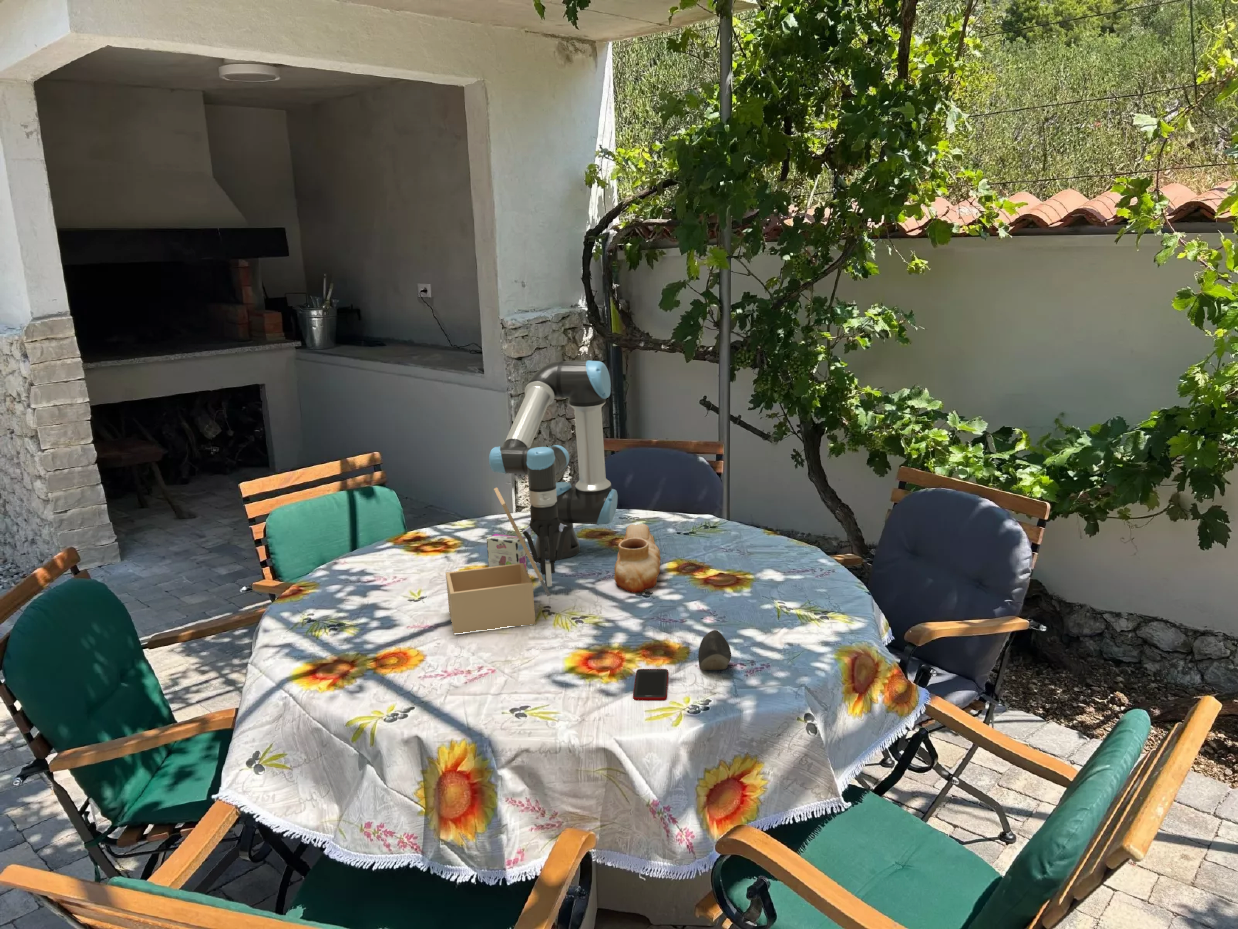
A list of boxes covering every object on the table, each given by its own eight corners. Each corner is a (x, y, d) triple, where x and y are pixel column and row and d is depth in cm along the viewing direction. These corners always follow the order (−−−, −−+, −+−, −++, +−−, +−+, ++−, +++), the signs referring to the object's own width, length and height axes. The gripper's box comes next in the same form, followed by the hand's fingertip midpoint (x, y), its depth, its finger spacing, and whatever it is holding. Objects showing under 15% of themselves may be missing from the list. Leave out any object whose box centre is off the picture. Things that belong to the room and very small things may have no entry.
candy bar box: (529, 588, 282) (526, 537, 278) (520, 594, 278) (516, 542, 274) (499, 583, 288) (495, 532, 284) (489, 589, 283) (485, 537, 279)
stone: (702, 675, 228) (694, 656, 220) (698, 648, 233) (691, 628, 225) (734, 670, 226) (728, 650, 219) (730, 642, 231) (724, 622, 224)
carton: (525, 602, 272) (523, 563, 269) (535, 624, 256) (532, 583, 253) (449, 612, 267) (445, 572, 264) (454, 635, 251) (450, 593, 248)
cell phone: (668, 672, 226) (668, 668, 226) (666, 701, 212) (666, 698, 212) (636, 672, 227) (636, 668, 227) (632, 701, 213) (632, 697, 213)
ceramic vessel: (663, 563, 299) (661, 518, 296) (658, 594, 274) (657, 545, 270) (620, 563, 301) (618, 519, 297) (611, 594, 275) (609, 546, 272)
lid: (539, 581, 272) (543, 579, 272) (550, 602, 256) (553, 600, 256) (493, 488, 262) (497, 487, 262) (501, 504, 246) (505, 503, 246)
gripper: (522, 509, 253) (527, 592, 258) (569, 504, 256) (574, 586, 261) (518, 502, 260) (523, 583, 265) (564, 497, 263) (568, 577, 268)
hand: (548, 584), depth 263 cm, fingers closed
